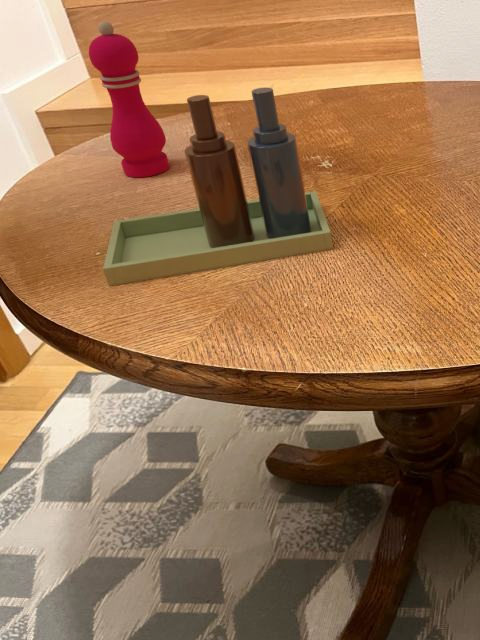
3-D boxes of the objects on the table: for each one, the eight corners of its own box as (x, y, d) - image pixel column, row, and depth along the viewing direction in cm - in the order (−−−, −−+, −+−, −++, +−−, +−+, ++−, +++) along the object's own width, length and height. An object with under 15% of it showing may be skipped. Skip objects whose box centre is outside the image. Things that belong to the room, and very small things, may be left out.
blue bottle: (268, 244, 83) (237, 99, 74) (264, 226, 87) (235, 87, 78) (313, 237, 84) (289, 93, 75) (308, 219, 88) (284, 81, 79)
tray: (110, 289, 77) (102, 268, 75) (120, 239, 87) (113, 220, 85) (333, 252, 82) (330, 232, 80) (319, 209, 92) (316, 190, 90)
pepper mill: (122, 182, 102) (74, 29, 91) (119, 166, 108) (73, 20, 96) (175, 173, 104) (135, 22, 93) (170, 157, 110) (131, 14, 99)
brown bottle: (208, 254, 81) (170, 107, 72) (208, 235, 86) (172, 94, 76) (256, 246, 83) (224, 101, 73) (253, 228, 87) (223, 88, 78)
